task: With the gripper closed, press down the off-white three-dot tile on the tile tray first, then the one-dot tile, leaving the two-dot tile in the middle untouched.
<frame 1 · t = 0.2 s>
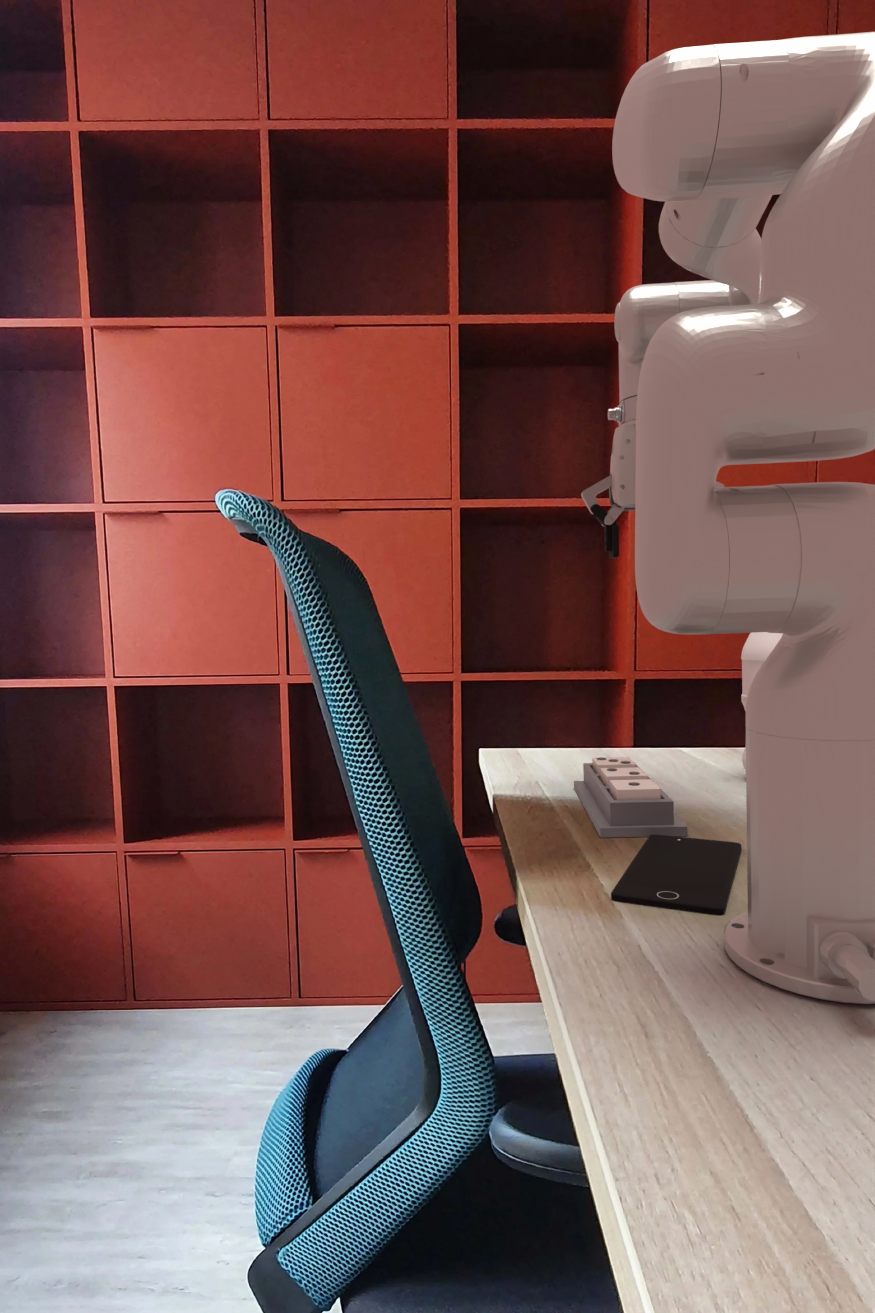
hand: (653, 556, 95), 30 cm above the table, tool pointing down, fingers open, 9 cm apart
tile three: (613, 768, 97), point 4 cm above the table, slide at 0.0 cm
water bottle: (771, 782, 102), on the table
tile tray: (623, 809, 90), on the table
cell phone: (681, 878, 69), on the table
tile one: (634, 793, 84), point 4 cm above the table, slide at 0.0 cm
tile two: (623, 779, 90), point 4 cm above the table, slide at 0.0 cm
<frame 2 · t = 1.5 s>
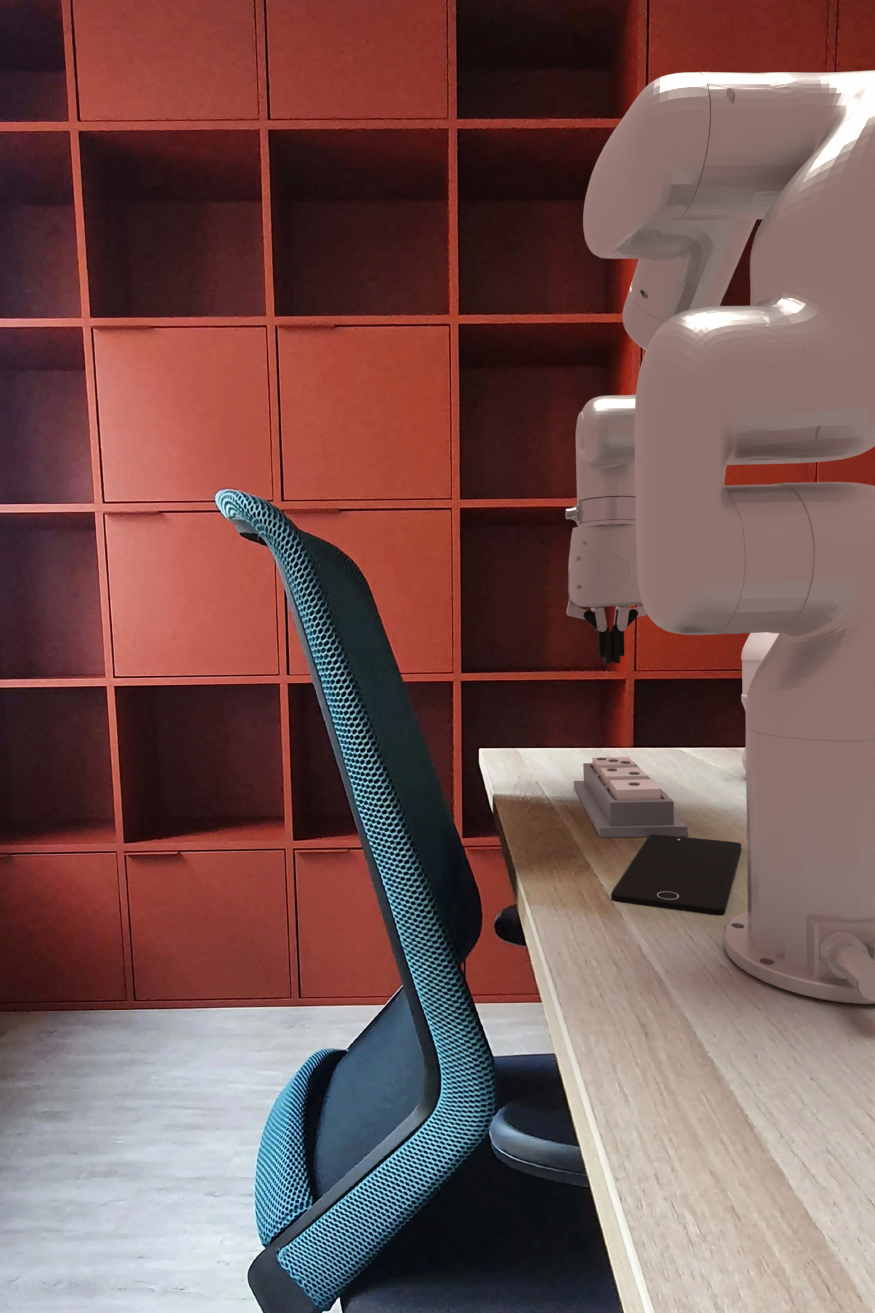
hand: (611, 662, 96), 17 cm above the table, tool pointing down, fingers closed
nothing on the table moved.
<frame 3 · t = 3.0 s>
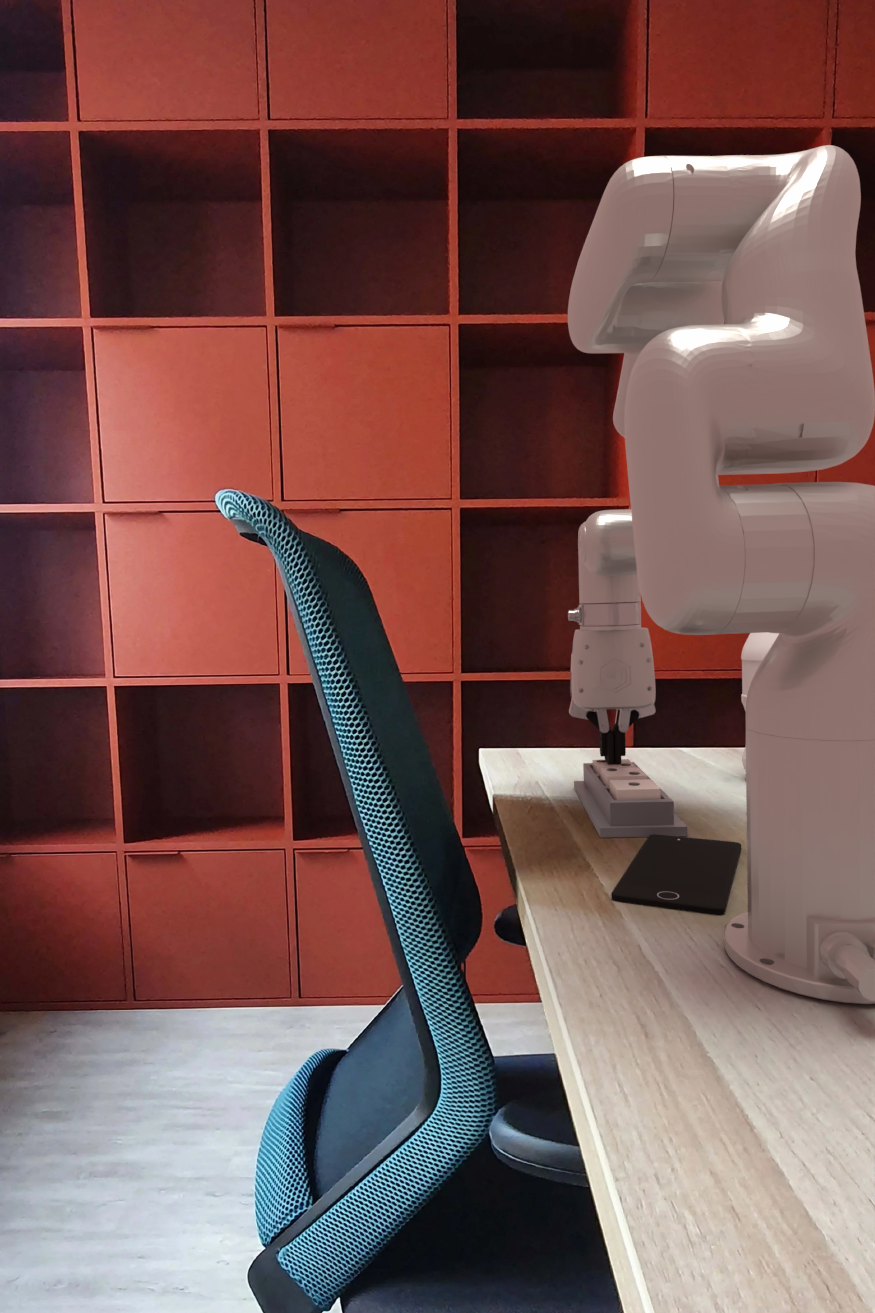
hand: (612, 761, 97), 4 cm above the table, tool pointing down, fingers closed
tile three: (613, 770, 97), point 3 cm above the table, slide at 0.3 cm, touching gripper
everything else where it was.
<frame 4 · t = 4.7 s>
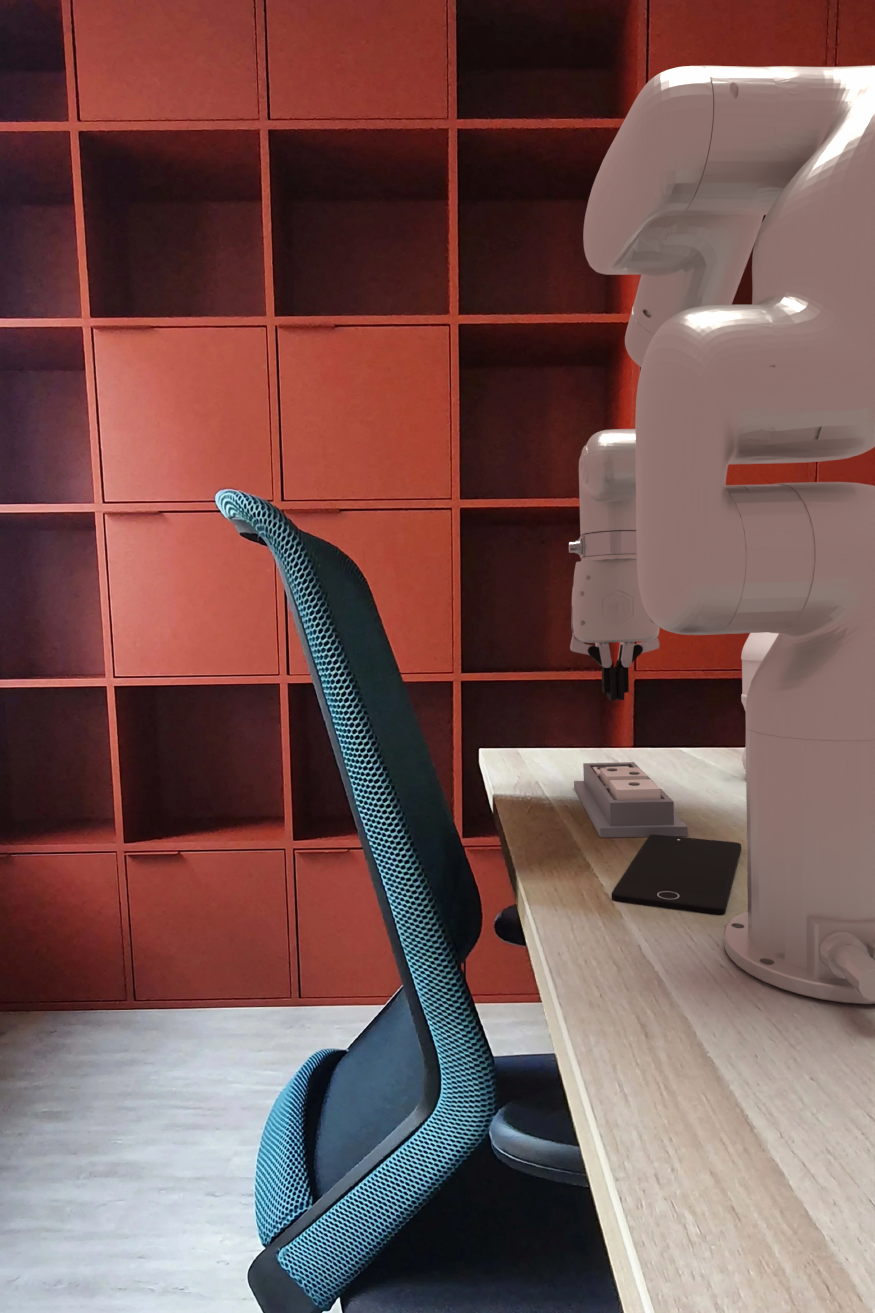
hand: (615, 698, 94), 13 cm above the table, tool pointing down, fingers closed
tile three: (613, 777, 97), point 2 cm above the table, slide at 1.2 cm
everything else where it was.
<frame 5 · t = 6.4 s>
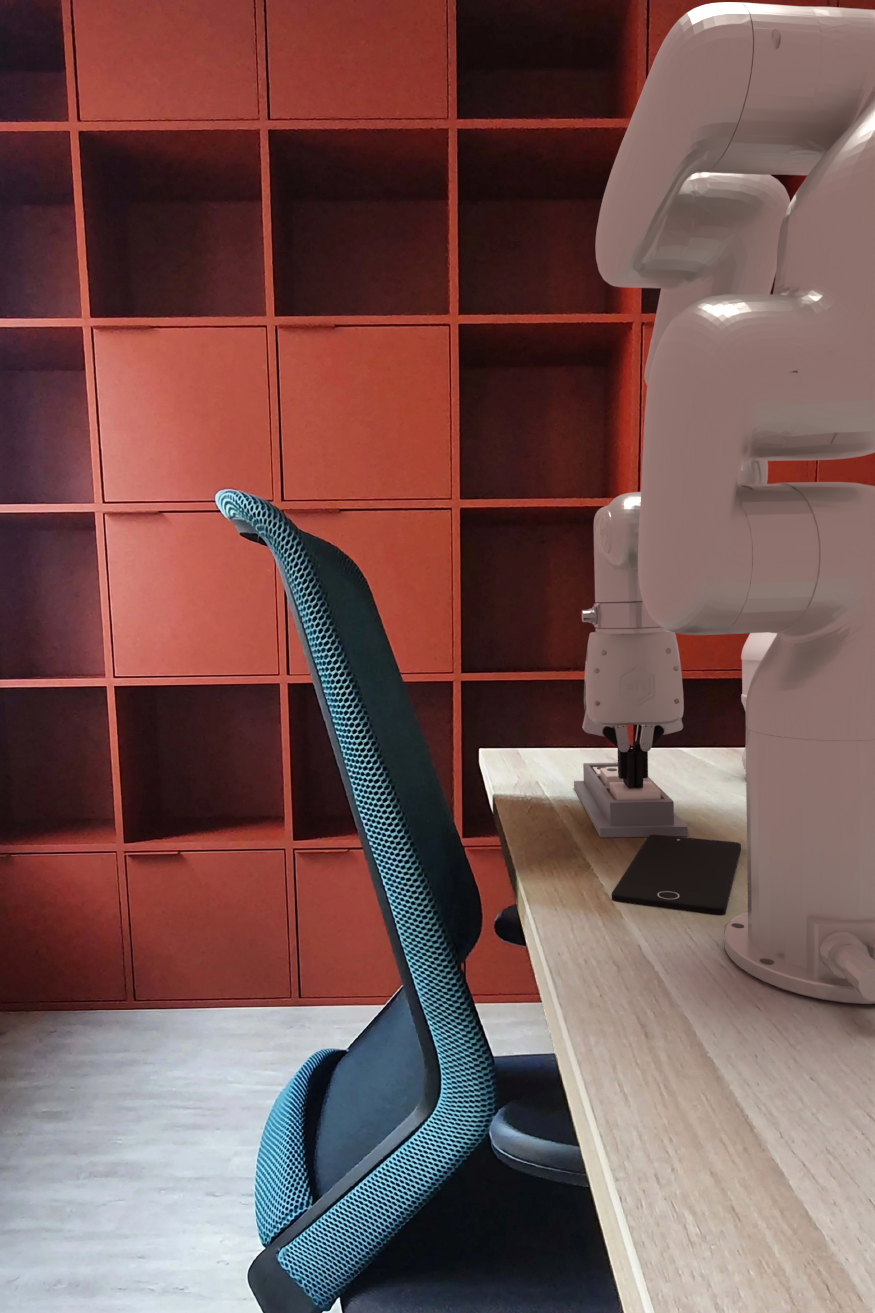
hand: (633, 784, 84), 4 cm above the table, tool pointing down, fingers closed
tile one: (634, 795, 84), point 3 cm above the table, slide at 0.3 cm, touching gripper
everything else where it was.
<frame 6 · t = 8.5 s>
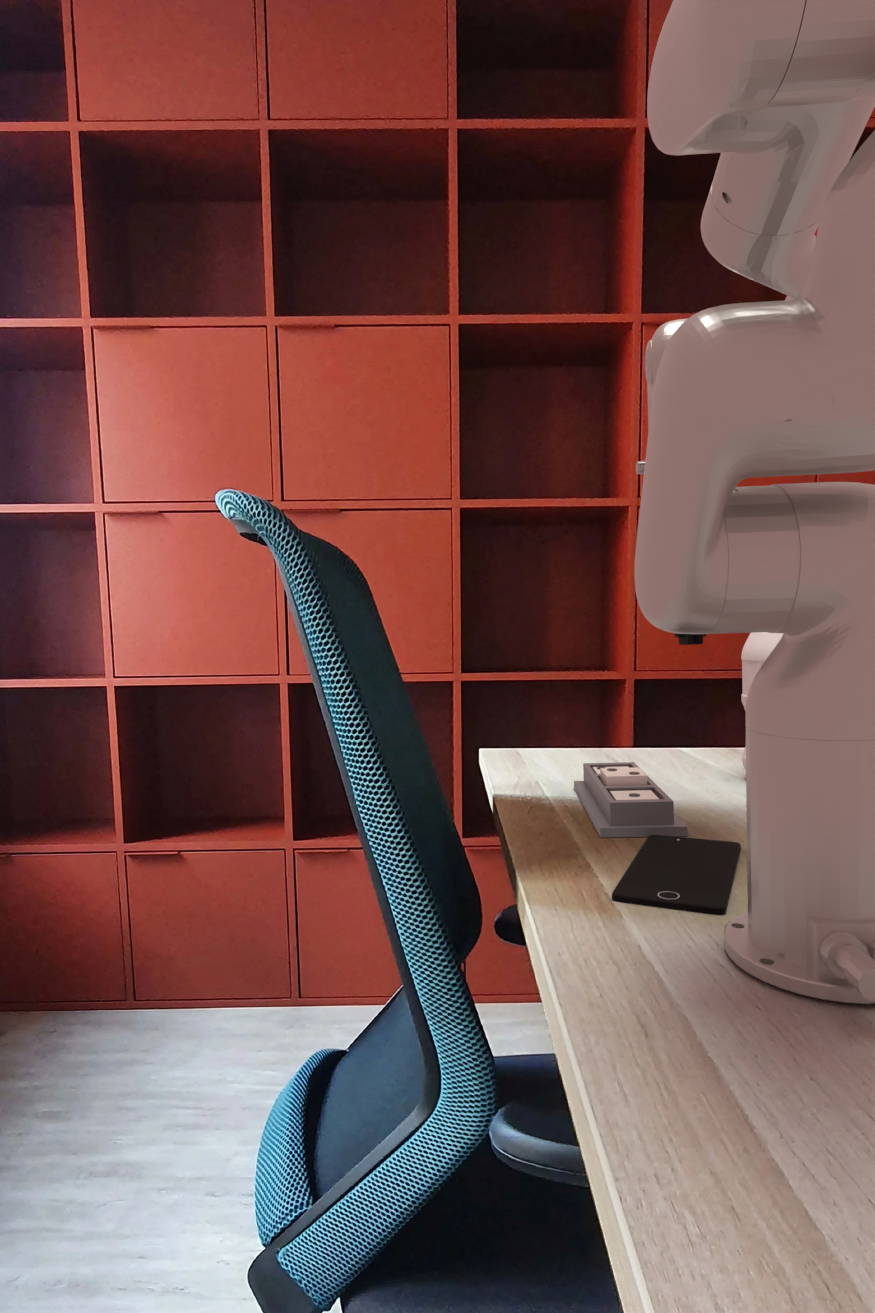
hand: (690, 644, 81), 20 cm above the table, tool pointing down, fingers closed
tile one: (634, 804, 84), point 2 cm above the table, slide at 1.2 cm
everything else where it was.
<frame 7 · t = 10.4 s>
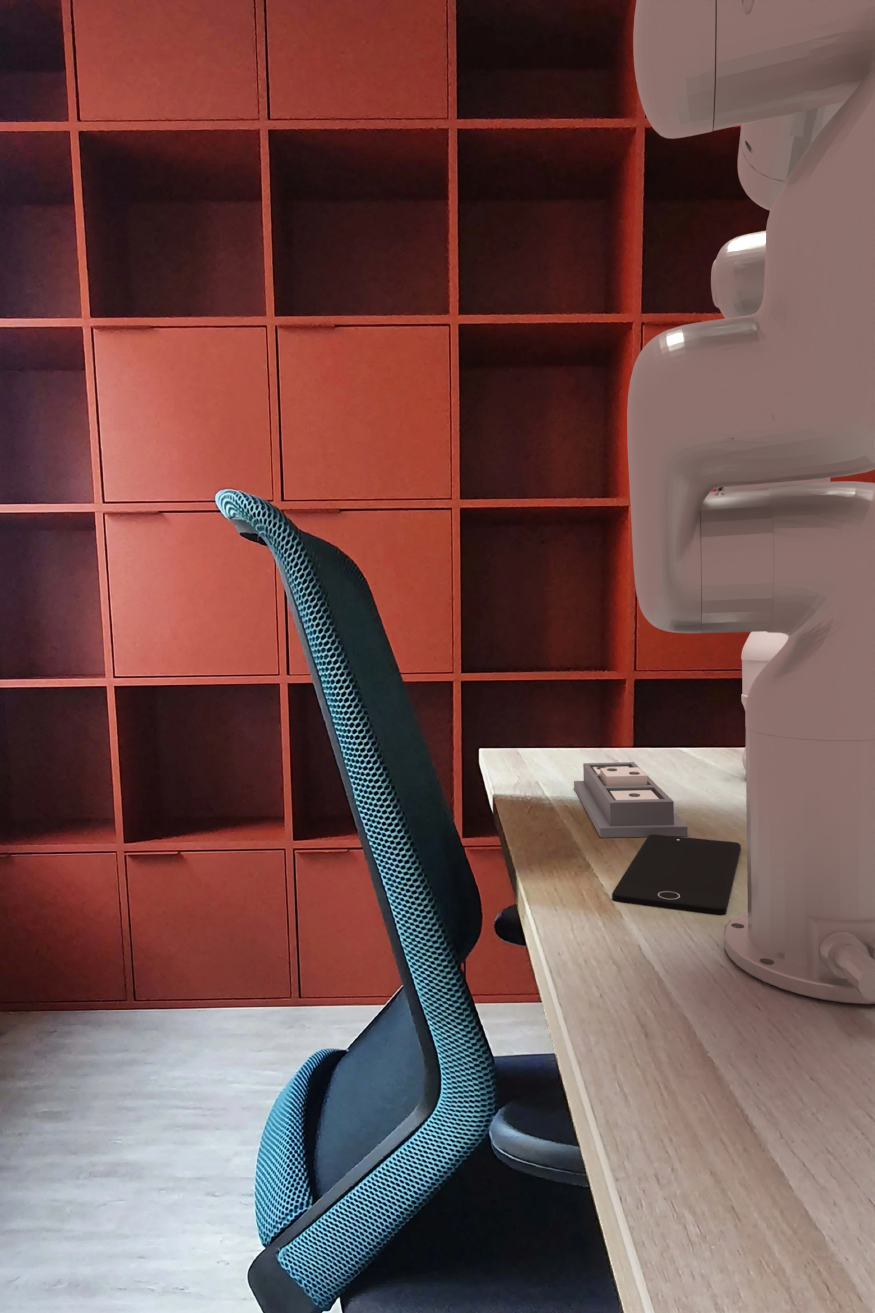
hand: (771, 572, 79), 27 cm above the table, tool pointing down, fingers closed
nothing on the table moved.
at the end: tile three slide at 1.2 cm; tile one slide at 1.2 cm; tile two slide at 0.0 cm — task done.
